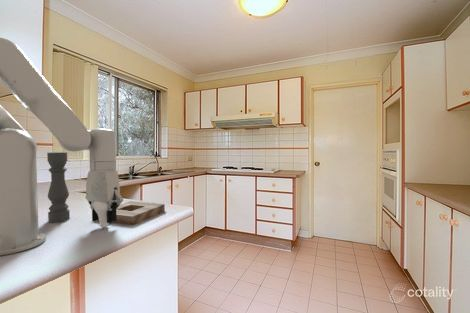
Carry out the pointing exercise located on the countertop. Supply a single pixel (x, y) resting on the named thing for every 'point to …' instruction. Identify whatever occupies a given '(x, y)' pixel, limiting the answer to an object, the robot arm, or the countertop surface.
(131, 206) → the socket block
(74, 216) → the countertop surface
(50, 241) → the countertop surface
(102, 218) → the lightbulb
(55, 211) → the candle holder
